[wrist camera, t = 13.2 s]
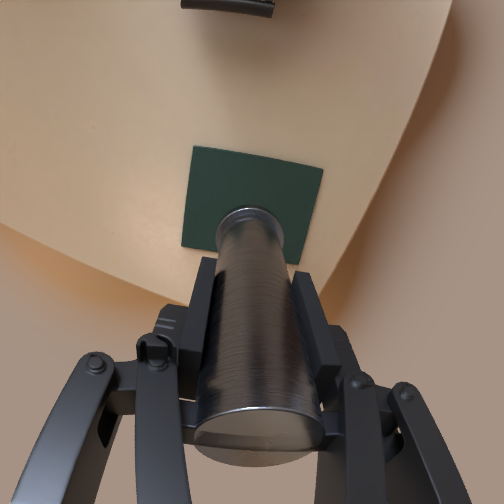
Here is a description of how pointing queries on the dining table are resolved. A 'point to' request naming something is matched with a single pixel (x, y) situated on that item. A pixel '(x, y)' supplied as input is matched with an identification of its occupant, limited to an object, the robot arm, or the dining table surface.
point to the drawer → (233, 6)
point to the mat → (248, 195)
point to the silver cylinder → (254, 356)
